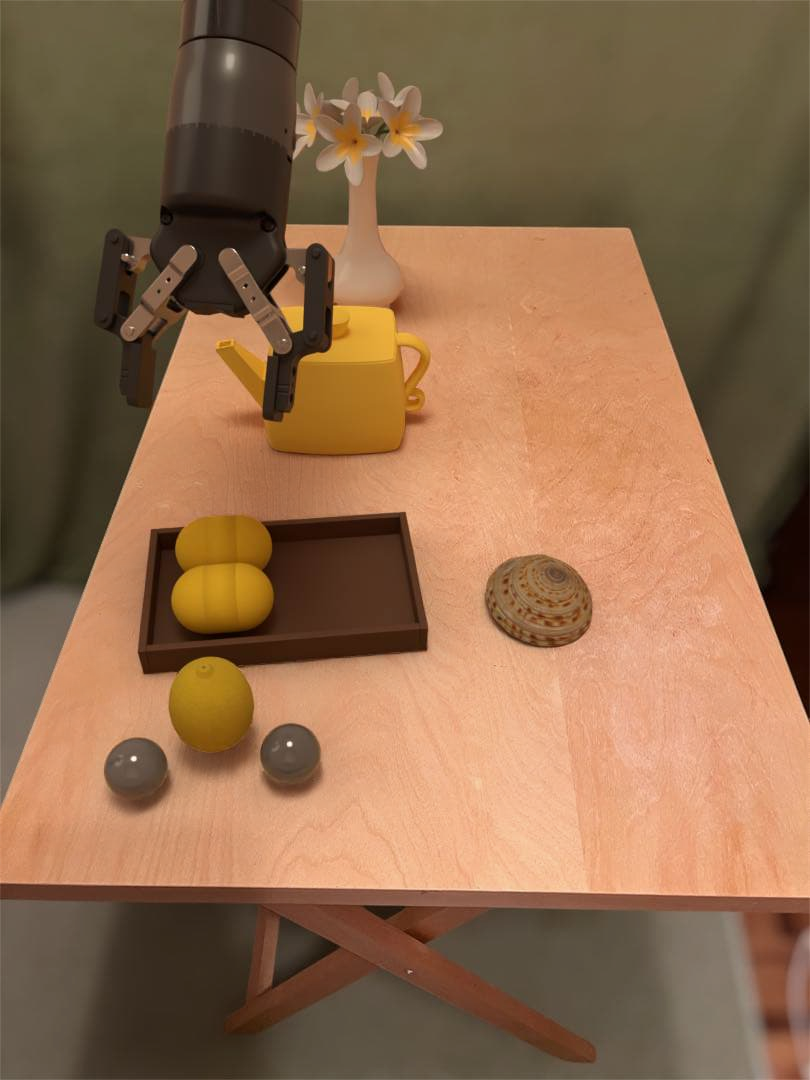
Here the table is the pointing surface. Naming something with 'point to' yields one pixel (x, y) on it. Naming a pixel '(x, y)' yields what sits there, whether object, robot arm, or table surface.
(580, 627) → the seashell
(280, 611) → the tray
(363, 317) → the teapot
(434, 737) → the table surface
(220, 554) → the yellow banded capsule
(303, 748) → the stone right
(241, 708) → the lemon
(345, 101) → the flower vase
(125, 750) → the glossy gray ball
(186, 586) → the yellow ribbed oblong body
